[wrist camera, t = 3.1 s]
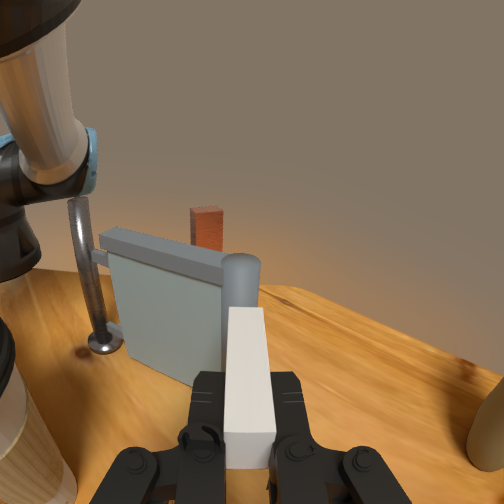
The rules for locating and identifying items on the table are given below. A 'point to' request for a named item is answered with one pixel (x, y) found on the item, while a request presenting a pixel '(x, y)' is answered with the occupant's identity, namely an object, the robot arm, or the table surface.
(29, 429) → the coffee cup
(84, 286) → the gate posts
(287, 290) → the table surface
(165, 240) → the gate
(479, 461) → the squeeze bottle
